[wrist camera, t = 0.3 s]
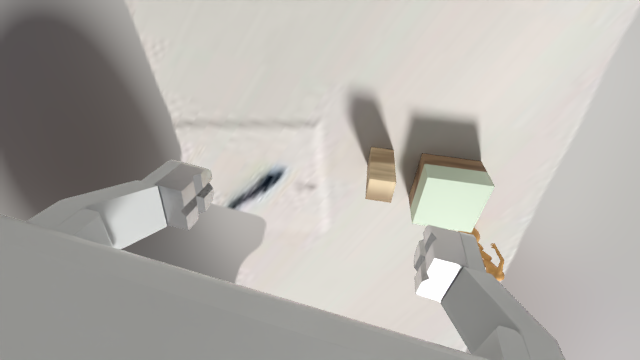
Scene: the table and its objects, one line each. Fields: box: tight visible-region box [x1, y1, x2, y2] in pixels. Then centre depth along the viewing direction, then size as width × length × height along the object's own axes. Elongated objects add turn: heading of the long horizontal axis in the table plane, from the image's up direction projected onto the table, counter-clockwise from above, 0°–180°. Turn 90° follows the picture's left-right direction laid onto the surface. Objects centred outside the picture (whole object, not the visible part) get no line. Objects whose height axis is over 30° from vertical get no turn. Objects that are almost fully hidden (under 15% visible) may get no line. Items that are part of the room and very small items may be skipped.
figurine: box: [458, 228, 504, 281], centre depth 55 cm, size 8×6×12 cm
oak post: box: [366, 147, 396, 203], centre depth 49 cm, size 4×4×10 cm
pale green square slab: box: [410, 164, 495, 233], centre depth 49 cm, size 10×10×4 cm
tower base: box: [409, 153, 487, 208], centre depth 53 cm, size 10×10×4 cm
